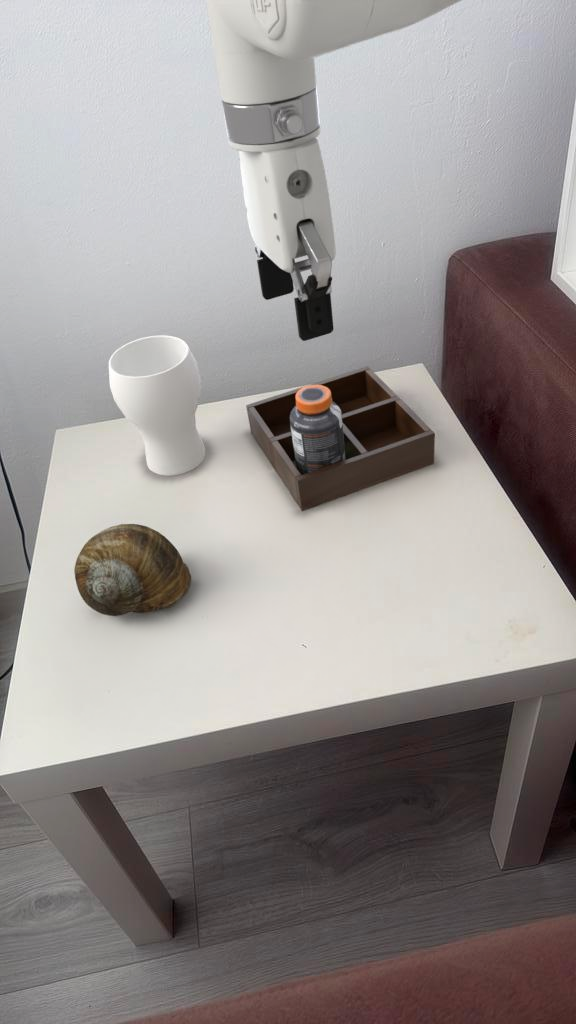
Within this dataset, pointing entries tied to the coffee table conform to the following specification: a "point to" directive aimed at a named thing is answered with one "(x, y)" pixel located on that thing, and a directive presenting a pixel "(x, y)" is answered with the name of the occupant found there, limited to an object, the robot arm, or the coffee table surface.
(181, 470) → the cup
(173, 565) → the seashell
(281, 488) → the coffee table surface
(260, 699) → the coffee table surface
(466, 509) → the coffee table surface
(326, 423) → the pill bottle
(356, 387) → the compartment tray
